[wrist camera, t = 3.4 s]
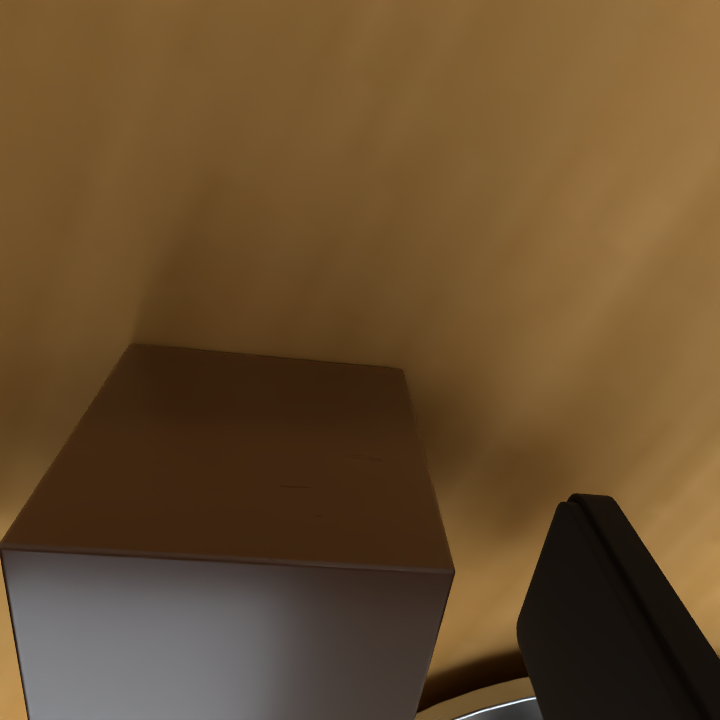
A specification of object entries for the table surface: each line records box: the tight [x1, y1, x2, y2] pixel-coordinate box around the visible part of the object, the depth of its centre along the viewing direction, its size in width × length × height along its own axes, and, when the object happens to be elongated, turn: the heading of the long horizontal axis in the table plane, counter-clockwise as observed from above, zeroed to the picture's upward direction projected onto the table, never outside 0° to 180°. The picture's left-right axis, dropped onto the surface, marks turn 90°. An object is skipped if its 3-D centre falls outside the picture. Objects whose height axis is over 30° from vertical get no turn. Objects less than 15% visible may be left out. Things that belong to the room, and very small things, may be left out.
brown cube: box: [0, 344, 455, 720], centre depth 9 cm, size 4×4×4 cm
